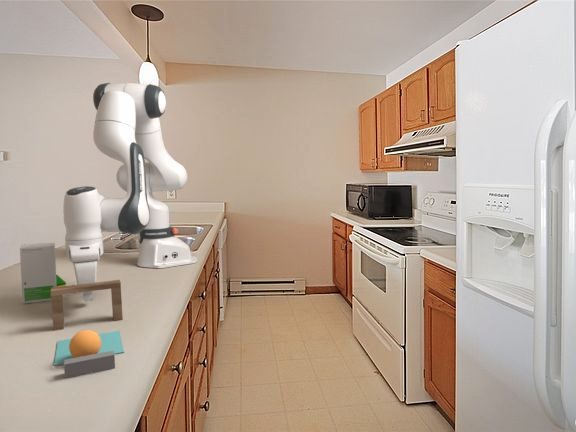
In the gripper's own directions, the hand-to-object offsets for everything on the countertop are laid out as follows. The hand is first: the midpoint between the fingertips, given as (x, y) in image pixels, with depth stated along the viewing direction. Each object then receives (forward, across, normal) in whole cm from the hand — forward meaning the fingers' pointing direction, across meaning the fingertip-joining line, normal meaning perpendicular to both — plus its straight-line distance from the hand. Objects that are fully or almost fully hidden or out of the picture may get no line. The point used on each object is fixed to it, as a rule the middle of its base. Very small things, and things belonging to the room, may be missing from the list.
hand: (88, 299), depth 108 cm
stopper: (+2, +40, 0) cm, 40 cm away
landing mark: (+2, +29, 0) cm, 29 cm away
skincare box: (+2, -13, -12) cm, 18 cm away
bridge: (+2, +14, 0) cm, 14 cm away
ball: (-1, +34, -1) cm, 35 cm away
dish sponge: (+2, -27, -11) cm, 29 cm away
